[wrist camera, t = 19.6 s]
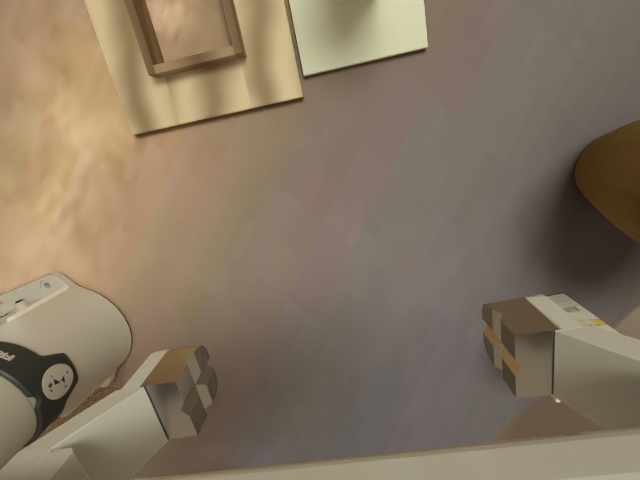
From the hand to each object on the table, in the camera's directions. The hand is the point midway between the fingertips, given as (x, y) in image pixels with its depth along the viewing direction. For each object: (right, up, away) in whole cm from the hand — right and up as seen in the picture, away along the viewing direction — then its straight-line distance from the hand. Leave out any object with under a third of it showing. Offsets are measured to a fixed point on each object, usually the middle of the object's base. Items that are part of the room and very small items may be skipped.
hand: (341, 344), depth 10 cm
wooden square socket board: (-14, +26, +25) cm, 39 cm away
